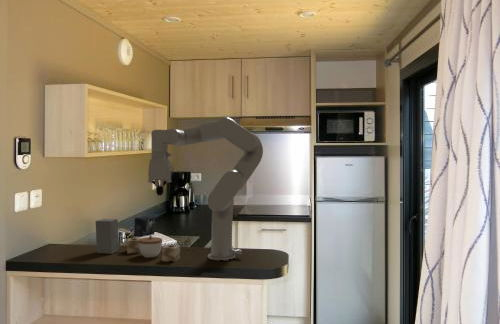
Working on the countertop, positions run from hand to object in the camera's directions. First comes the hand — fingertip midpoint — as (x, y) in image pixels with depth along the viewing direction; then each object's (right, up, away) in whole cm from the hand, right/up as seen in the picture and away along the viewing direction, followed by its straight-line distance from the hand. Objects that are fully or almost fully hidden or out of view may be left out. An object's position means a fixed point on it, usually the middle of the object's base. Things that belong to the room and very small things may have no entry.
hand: (159, 195), depth 193 cm
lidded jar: (-4, -28, -3) cm, 29 cm away
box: (-20, -27, +48) cm, 59 cm away
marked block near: (+7, -28, -10) cm, 31 cm away
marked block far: (-14, -28, +5) cm, 31 cm away
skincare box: (-26, -28, +2) cm, 38 cm away
